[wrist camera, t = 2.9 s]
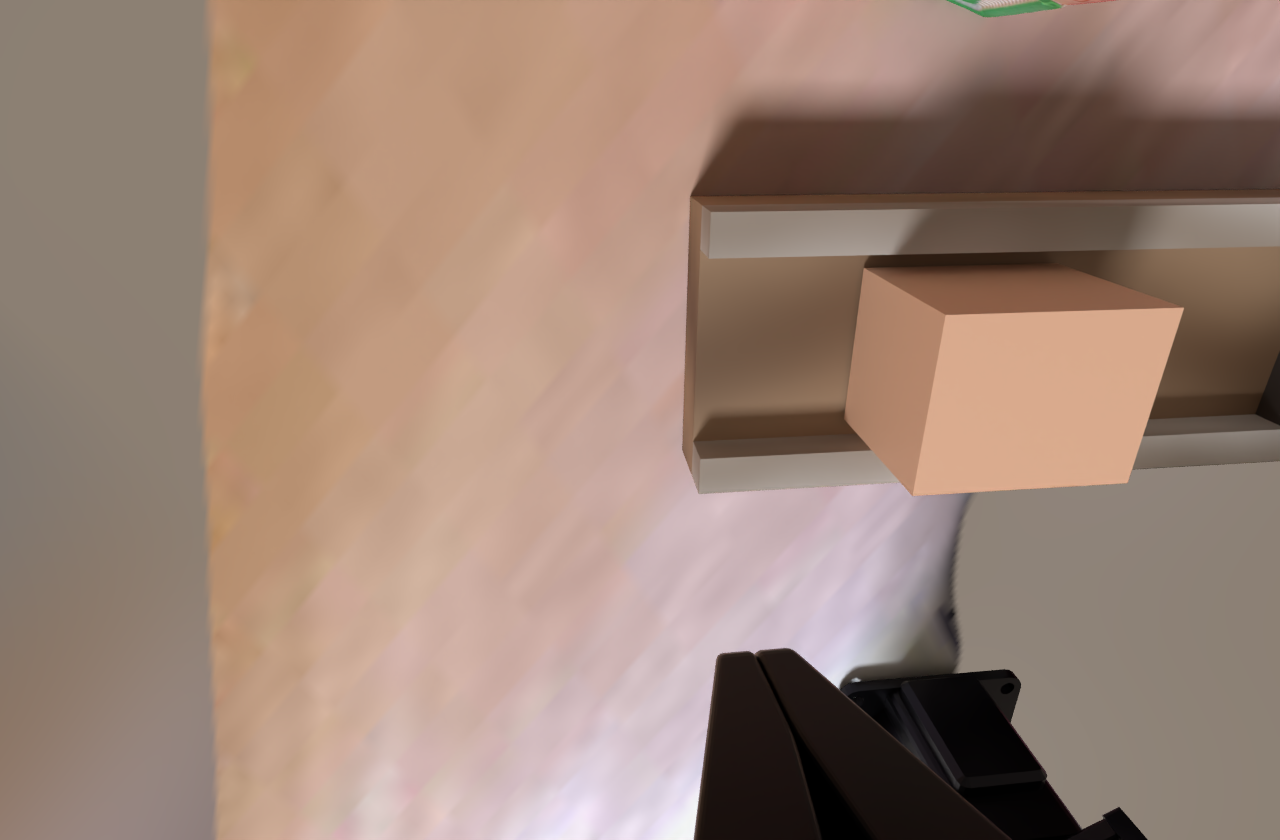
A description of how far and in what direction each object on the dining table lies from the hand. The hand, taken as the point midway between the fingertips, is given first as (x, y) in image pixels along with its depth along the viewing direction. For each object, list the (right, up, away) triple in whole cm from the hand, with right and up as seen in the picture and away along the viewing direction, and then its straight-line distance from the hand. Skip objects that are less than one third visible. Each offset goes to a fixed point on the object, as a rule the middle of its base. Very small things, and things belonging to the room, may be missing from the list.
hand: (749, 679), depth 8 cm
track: (+9, +6, +12) cm, 16 cm away
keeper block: (+7, +5, +11) cm, 13 cm away
